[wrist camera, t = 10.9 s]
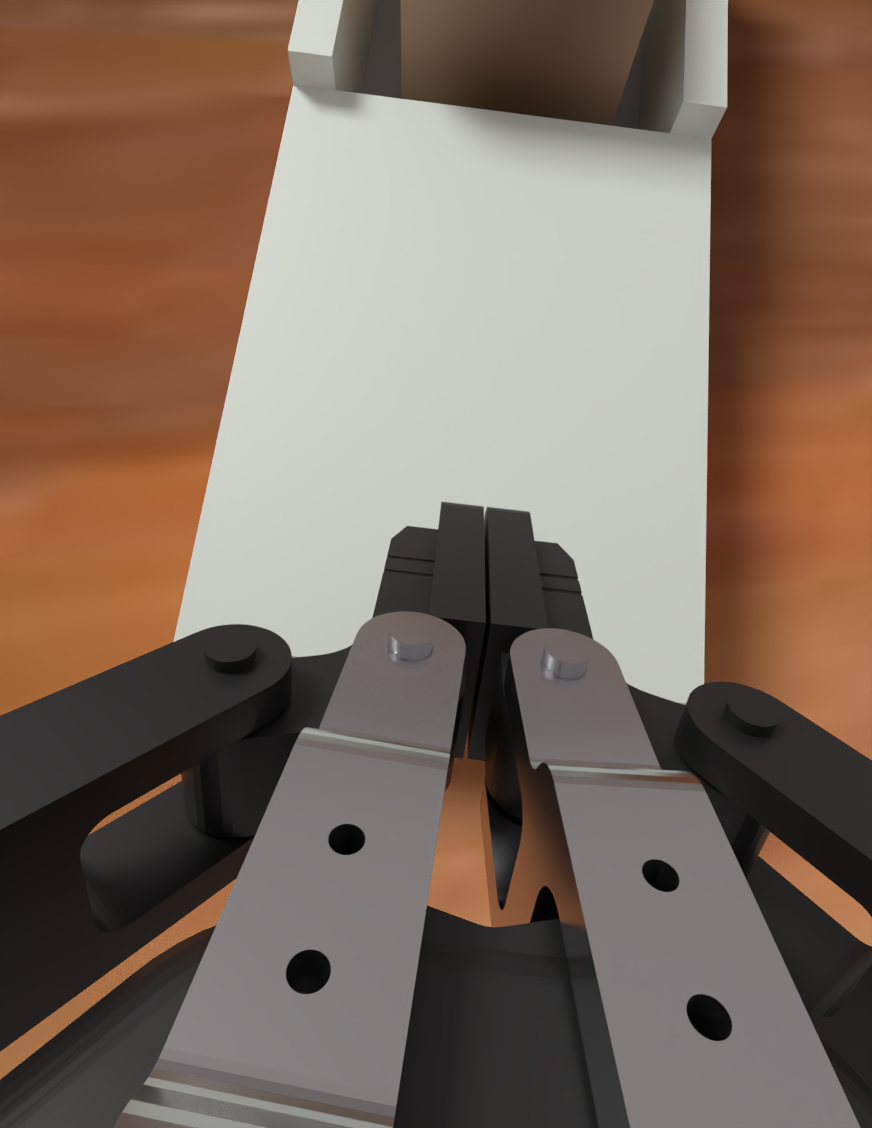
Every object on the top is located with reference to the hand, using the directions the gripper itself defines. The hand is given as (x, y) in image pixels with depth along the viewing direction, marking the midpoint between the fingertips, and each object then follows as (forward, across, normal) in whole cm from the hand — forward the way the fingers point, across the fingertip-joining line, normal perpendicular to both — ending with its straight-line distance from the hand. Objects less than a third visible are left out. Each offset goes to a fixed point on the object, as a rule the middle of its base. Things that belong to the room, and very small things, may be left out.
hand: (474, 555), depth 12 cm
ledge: (+10, 0, +1) cm, 10 cm away
